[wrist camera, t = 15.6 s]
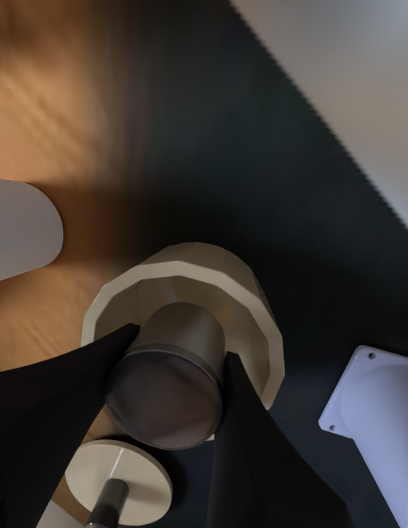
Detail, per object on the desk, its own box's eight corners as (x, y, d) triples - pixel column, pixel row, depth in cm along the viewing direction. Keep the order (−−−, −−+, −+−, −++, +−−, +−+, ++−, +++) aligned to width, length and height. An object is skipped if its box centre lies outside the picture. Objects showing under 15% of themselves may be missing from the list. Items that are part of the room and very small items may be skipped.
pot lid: (173, 441, 21) (159, 500, 16) (175, 519, 23) (163, 586, 19) (66, 426, 22) (27, 477, 18) (79, 501, 25) (48, 561, 20)
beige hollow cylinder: (284, 263, 15) (318, 298, 9) (242, 381, 18) (247, 463, 12) (142, 225, 16) (91, 236, 10) (122, 345, 18) (74, 408, 13)
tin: (235, 314, 12) (239, 372, 8) (213, 382, 14) (206, 464, 9) (152, 290, 12) (111, 334, 8) (139, 360, 14) (97, 430, 9)
